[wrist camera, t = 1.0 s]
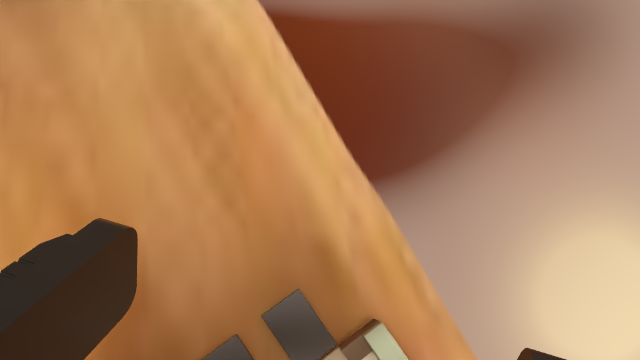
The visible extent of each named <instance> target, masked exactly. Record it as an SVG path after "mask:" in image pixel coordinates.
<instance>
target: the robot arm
mask: <svg viewBox="0 0 640 360" xmlns="http://www.w3.org/2000/svg"><path fill="white" fill-rule="evenodd" d="M137 240H138V239H137V232H136V230H135V229H134V228H132V227H128V226H125V225H122V224H118V223H115V222H112V221H109V220H105V219H102V218H98V219H95V220H94V221H92V222H91V223H89V224H88V225H87V226H85V227H84V228H83V229H81V230H80V231H78V232H77V233H76V234H74V235H70V234H65V235H63V236H60V237H57V238H54V239H52V240H49V241H46V242H43V243H41V244H39V245H38V246H36V247H35V248H33V249H32V250H30V251H29V252H27V253H26V254H25V255H23V256H22V257H20V258H19V260H18V262H15V261H14V262H13V263H12V264H10V265H9V266H7V267H6V268H4V269H3V270H1V273H0V360H84V359H85V358H86V357H87V356H88V355H89V353H90V352H91V351H92V350H93V349H94V348H95V347H96V346H97V345H98V344H99V343H100V341H101V340H102V339H103V338H104V337H105V336H106V335H107V334H108V333H109V332H110V331H111V329H112V328H113V327H114V326H115V325H116V324H117V323H118V322H119V321H120V320H121V319H122V317H123V316H124V315H125V314H126V312H127V311H128V309H129V308H130V306H131V304H132V301H133V299H134V296H135V292H136V286H137ZM517 360H566V359H562V358H559V357H556V356H552V355H549V354H546V353H543V352H539V351H536V350H533V349H529V348H525V349H524V350H523V351H522V352H521V353H520V355H519V357H518V359H517Z"/></svg>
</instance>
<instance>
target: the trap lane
mask: <svg viewBox="0 0 640 360" xmlns="http://www.w3.org/2000/svg"><path fill="white" fill-rule="evenodd" d="M262 318H263V319H264V321H265V322H266V323H267V325H268V326H269V328H270V329H271V331H272V332H273V334H274V335H275V337H276V338H277V340H278V341H279V343H280V344H281V345H282V347H283V348H284V350H285V351H286V353H287V354H288V356H289V357H290V359H291V360H317V359H318V358H320V357H321V356H322V355H324V354H325V353H326V352H327V351H329V350H330V349H331V348H333V347H334V346H335V345H337V344H336V342H335V341H334V339H333V338H332V336H331V335H330V334H329V332H328V331H327V329H326V328H325V326H324V325H323V323H322V322H321V321H320V319H319V318H318V316H317V315H316V313H315V312H314V311H313V309H312V308H311V306H310V305H309V303H308V302H307V301H306V299H305V298H304V296H303V295H302V293H301V292H300V290H299V289H298V290H296V291H295V292H294V293H292V294H291V295H290V296H288V297H287V298H285V299H284V300H283V301H281V302H280V303H279V304H277V305H276V306H275V307H273V308H272V309H270V310H269V311H268V312H266V313H265V314H264V315H262ZM202 360H254V359H253V358H252V356H251V355H250V353H249V352H248V350H247V349H246V347H245V346H244V344H243V343H242V341H241V340H240V338H239V337H238V335H237V334H236V335H235V336H234V337H232V338H231V339H230V340H228V341H227V342H225V343H224V344H223V345H221V346H220V347H219V348H217V349H216V350H215V351H213V352H212V353H211V354H209V355H208V356H206V357H205V358H204V359H202ZM321 360H409V359H408V358H407V357H406V355H405V354H404V352H403V351H402V350H401V348H400V347H399V345H398V344H397V343H396V341H395V340H394V338H393V337H392V336H391V334H390V333H389V331H388V330H387V329H386V327H385V326H384V324H383V323H382V322H380V321H378V320H375V319H373V320H372V321H370V322H369V323H368V324H366V325H365V326H364V327H362V328H361V329H360V330H359V331H357V332H356V333H355V334H353V335H352V336H351V337H349V338H348V339H347V340H346V341H344V342H343V343H342V344H340V345H339V346H338V347H336V348H335V349H334V350H333V351H331V352H330V353H329V354H327V355H326V356H325V357H323V358H322V359H321Z"/></svg>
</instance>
